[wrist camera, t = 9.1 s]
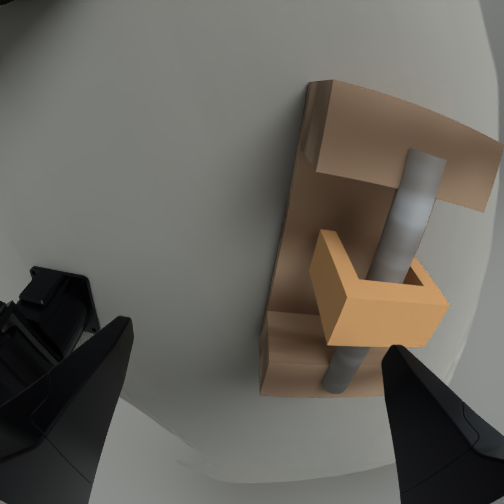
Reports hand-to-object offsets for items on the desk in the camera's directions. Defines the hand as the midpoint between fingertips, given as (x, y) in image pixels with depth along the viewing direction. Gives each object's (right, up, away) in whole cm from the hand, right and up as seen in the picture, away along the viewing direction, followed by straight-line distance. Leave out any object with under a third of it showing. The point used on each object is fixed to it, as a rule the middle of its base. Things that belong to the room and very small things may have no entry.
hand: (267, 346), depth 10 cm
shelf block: (+6, +4, +11) cm, 13 cm away
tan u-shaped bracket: (+6, +3, +9) cm, 12 cm away
